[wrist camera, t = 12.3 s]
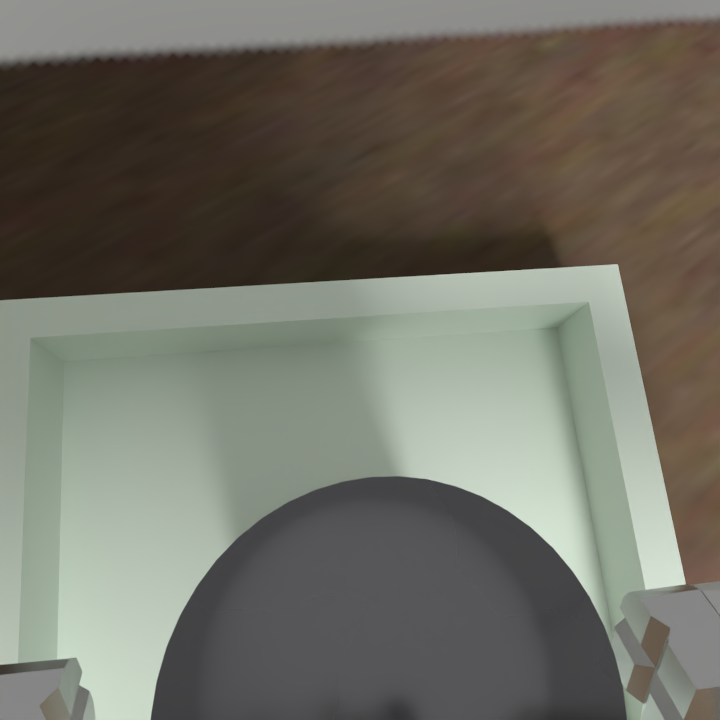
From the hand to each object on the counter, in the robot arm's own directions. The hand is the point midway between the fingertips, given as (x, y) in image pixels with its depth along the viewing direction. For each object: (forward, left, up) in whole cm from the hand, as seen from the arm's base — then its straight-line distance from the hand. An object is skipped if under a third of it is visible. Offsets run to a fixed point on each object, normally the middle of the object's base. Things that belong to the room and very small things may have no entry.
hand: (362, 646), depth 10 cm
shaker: (0, 0, -7) cm, 7 cm away
